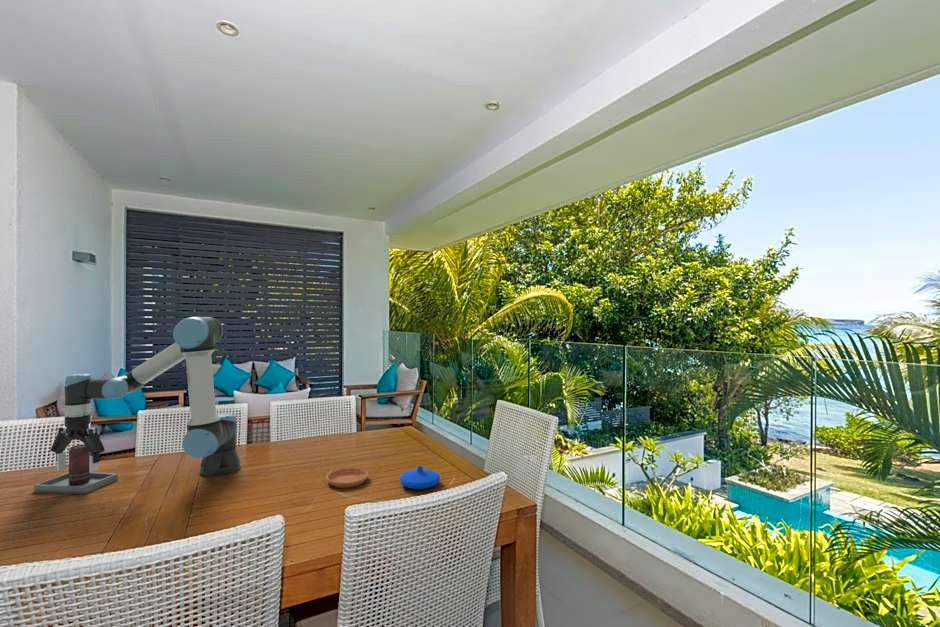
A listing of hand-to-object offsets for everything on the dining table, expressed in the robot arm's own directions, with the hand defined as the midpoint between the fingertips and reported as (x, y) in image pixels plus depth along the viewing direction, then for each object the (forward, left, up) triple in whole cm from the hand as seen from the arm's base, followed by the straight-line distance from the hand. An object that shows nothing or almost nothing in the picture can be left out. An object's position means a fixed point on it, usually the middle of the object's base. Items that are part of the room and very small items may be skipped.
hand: (77, 470), depth 169 cm
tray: (0, 0, -6) cm, 6 cm away
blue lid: (-129, -17, -6) cm, 130 cm away
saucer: (-100, -17, -6) cm, 101 cm away
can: (0, -1, -5) cm, 5 cm away
